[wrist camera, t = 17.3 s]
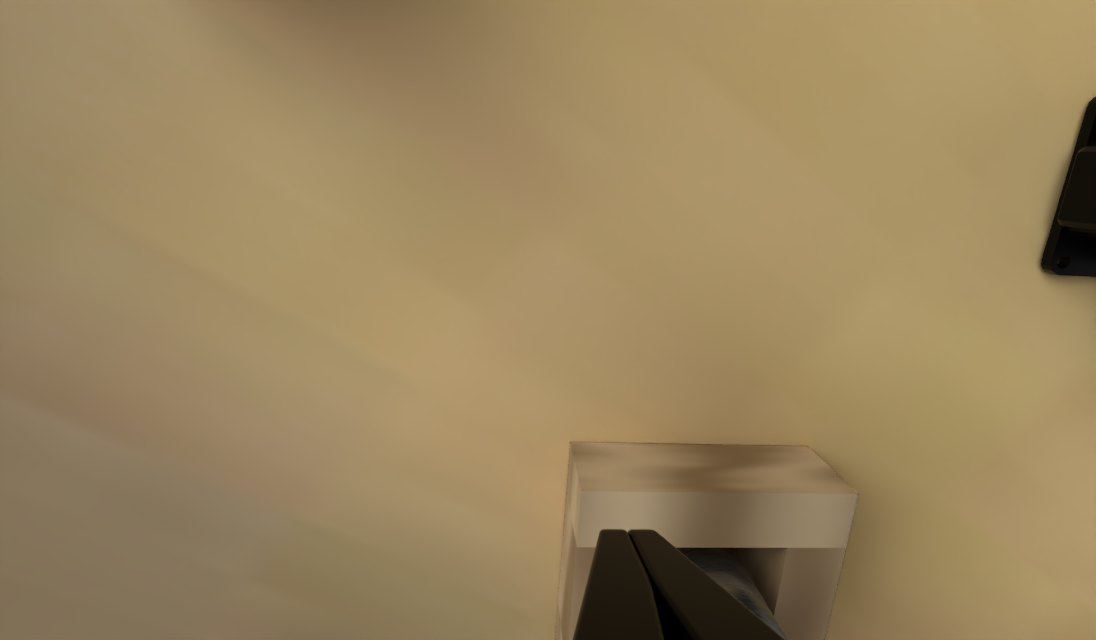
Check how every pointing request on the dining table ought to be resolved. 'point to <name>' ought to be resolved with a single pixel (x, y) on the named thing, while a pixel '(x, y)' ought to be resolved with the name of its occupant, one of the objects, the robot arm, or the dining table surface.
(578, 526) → the dock block
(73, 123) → the dining table surface
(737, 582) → the black cylinder
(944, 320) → the dining table surface
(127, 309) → the dining table surface
